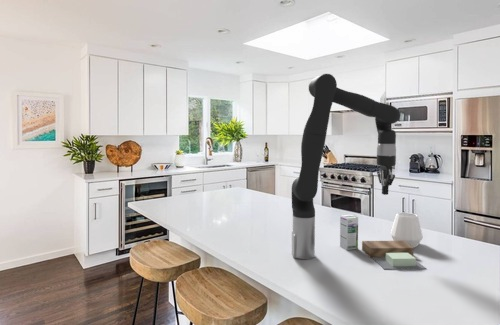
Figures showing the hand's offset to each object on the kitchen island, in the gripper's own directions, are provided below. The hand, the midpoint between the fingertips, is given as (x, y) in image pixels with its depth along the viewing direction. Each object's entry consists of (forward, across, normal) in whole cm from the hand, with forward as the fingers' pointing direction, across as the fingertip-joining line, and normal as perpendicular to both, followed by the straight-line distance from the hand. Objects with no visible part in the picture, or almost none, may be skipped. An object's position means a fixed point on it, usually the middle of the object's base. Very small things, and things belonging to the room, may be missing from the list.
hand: (385, 194), depth 136 cm
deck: (+25, +4, 0) cm, 25 cm away
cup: (+25, -8, +14) cm, 30 cm away
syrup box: (+25, -4, -14) cm, 29 cm away
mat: (+25, +14, 0) cm, 29 cm away
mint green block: (+23, +14, 0) cm, 27 cm away
